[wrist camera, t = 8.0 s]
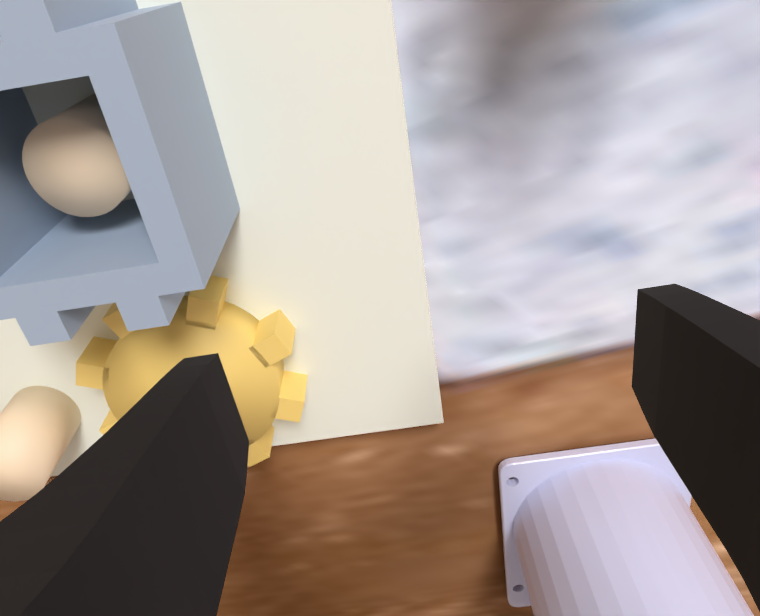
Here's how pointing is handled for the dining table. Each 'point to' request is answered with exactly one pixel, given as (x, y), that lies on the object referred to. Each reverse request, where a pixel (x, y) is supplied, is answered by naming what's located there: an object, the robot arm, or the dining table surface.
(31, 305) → the ridged hollow box frame
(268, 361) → the board
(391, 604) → the dining table surface
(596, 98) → the dining table surface
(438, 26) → the dining table surface
